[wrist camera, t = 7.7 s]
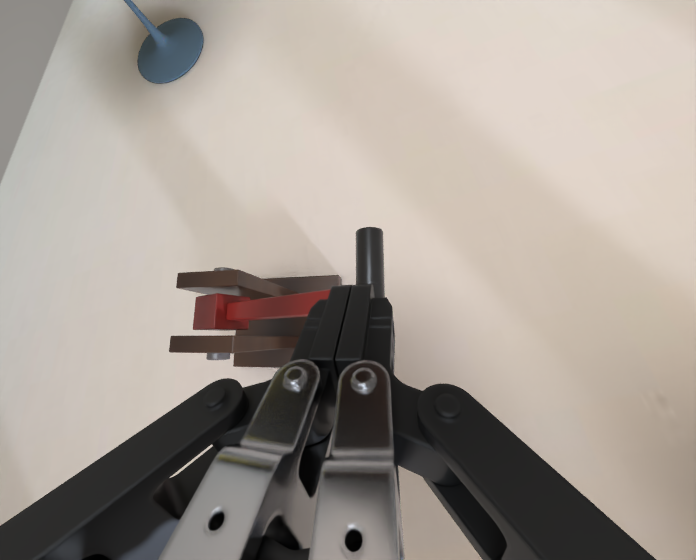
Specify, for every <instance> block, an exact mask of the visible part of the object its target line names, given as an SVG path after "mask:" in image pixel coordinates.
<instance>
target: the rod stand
mask: <svg viewBox="0 0 696 560" xmlns="http://www.w3.org/2000/svg"><path fill="white" fill-rule="evenodd" d="M340 285H341V277H340V276H339V275H332V276H310V277H289V278H268V279H261V278H259V277H256V276H253V275H251V274H248V273H246V272H243V271H241V270H234V269H231V268H215V269H214V271H206V272H187V273H178V277H177V286H176V288H179V289H184V290H188V291H193V292H198V293H203V294H208V295H210V294H216V293H220V294H228V295H236V296H245V297H250V300H254V299H262V298H269V297H277V296H284V295H292V294H299V293H307V292H314V291H321V290H329V289H331V287H332V286H340ZM305 321H307V317H294V318H278V319H262V320H249V328H248V330H236V336H171V340H170V348H169V352H178V353H207V360H226V359H230V353H234V365H233V366H235V367H282V366H283V365H285V364H287V363H288V362H290V359H291V357H292V354H293V352H294V349H295V347H296V344H297V342H298V339H299V336H300V334H301V331H302V329H303V326H304V324H305Z"/></svg>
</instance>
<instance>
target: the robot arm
mask: <svg viewBox="0 0 696 560" xmlns="http://www.w3.org/2000/svg"><path fill="white" fill-rule="evenodd" d="M394 349H395V333H394V322H393V310H392V305H391V304H390V302H389V301H388V299H387V297H386V298H375V296H374V288H373V285H372V284H367V285H353V286H352V285H340V286H332V287H331V290H330V293H329V296H328V299H319V300H318V301H317V302H316V303H315V304H314V305H313V306H312V307H311V308H310V311H309V313H308V316H307V321H305V324H304V326H303V329H302V331H301V334H300V336H299V339H298V342H297V344H296V347H295V349H294V352H293V354H292V357H291V359H290V362H288V363H287V364H285V365H283V366H282V367H281V368H280V369H279V370H278V371H277V372H276V373H275V375H274V376H273V378H272V379H271V380H268V381H266V382H263V383H259V384H255V385H251V386H247V387H244V388H242V386H241V385H240V383H239V382H238V381H236V380H234V379H229V378H227V379H221V380H218V381H215V382H213V383H211V384H209V385H208V386H206V387H205V388H203V389H202V390H200V391H199V392H197V393H196V394H194V395H193V396H191V397H190V398H188V399H187V400H186V401H184V402H183V403H181V404H180V405H178V406H177V407H175V408H174V409H172V410H171V411H169V412H168V413H166V414H165V415H163V416H162V417H160V418H159V419H157V420H156V421H155V422H153V423H152V424H150V425H149V426H147V427H146V428H144V429H143V430H141V431H140V432H138V433H137V434H135V435H134V436H132V437H131V438H129V439H128V440H126V441H125V442H124V443H122V444H121V445H119V446H118V447H116V448H115V449H113V450H112V451H110V452H109V453H107V454H106V455H104V456H103V457H101V458H100V459H98V460H97V461H95V462H94V463H92V464H91V465H90V466H88V467H87V468H85V469H84V470H82V471H81V472H79V473H78V474H76V475H75V476H73V477H72V478H70V479H69V480H67V481H66V482H64V483H63V484H61V485H60V486H59V487H57V488H56V489H54V490H53V491H51V492H50V493H48V494H47V495H45V496H44V497H42V498H41V499H39V500H38V501H36V502H35V503H33V504H32V505H30V506H29V507H28V508H26V509H25V510H23V511H22V512H20V513H19V514H17V515H16V516H14V517H13V518H11V519H10V520H8V521H7V522H5V523H4V524H2V525H1V526H0V560H405V554H404V540H403V526H402V515H401V501H400V486H399V470H398V465H399V466H401V467H403V468H405V469H407V470H409V471H411V472H414V473H416V474H418V475H420V476H422V477H423V478H424V480H425V481H426V483H427V484H428V486H429V487H430V488H431V490H432V491H433V492H434V494H435V495H436V496H437V498H438V499H439V501H440V502H441V503H442V505H443V506H444V507H445V509H446V510H447V511H448V513H449V514H450V516H451V517H452V518H453V520H454V521H455V522H456V524H457V525H458V526H459V528H460V529H461V531H462V532H463V533H464V535H465V536H466V537H467V539H468V540H469V542H470V543H471V544H472V546H473V547H474V548H475V550H476V551H477V552H478V554H479V555H480V557H481V558H482V559H483V560H656V559H655V558H654V557H653V556H651V555H650V554H649V553H648V552H647V551H646V550H645V549H644V548H642V547H641V546H640V545H639V544H638V543H637V542H636V541H635V540H633V539H632V538H631V537H630V536H629V535H628V534H627V533H625V532H624V531H623V530H622V529H621V528H620V527H619V526H618V525H616V524H615V523H614V522H613V521H612V520H611V519H610V518H609V517H607V516H606V515H605V514H604V513H603V512H602V511H601V510H600V509H598V508H597V507H596V506H595V505H594V504H593V503H592V502H590V501H589V500H588V499H587V498H586V497H585V496H584V495H583V494H581V493H580V492H579V491H578V490H577V489H576V488H575V487H574V486H572V485H571V484H570V483H569V482H568V481H567V480H566V479H565V478H563V477H562V476H561V475H560V474H559V473H558V472H557V471H555V470H554V469H553V468H552V467H551V466H550V465H549V464H548V463H546V462H545V461H544V460H543V459H542V458H541V457H540V456H539V455H537V454H536V453H535V452H534V451H533V450H532V449H531V448H530V447H528V446H527V445H526V444H525V443H524V442H523V441H522V440H521V439H519V438H518V437H517V436H516V435H515V434H514V433H513V432H511V431H510V430H509V429H508V428H507V427H506V426H505V425H504V424H502V423H501V422H500V421H499V420H498V419H497V418H496V417H495V416H493V415H492V414H491V413H490V412H489V411H488V410H487V409H486V408H484V407H483V406H482V405H481V404H480V403H479V402H478V401H476V400H475V399H474V398H473V397H472V396H471V395H470V394H469V393H467V392H466V391H465V390H463V389H461V388H459V387H457V386H454V385H451V384H435V385H432V386H430V387H428V388H426V389H425V390H424V391H421V390H418V389H415V388H412V387H410V386H407V385H405V384H403V383H402V382H401V381H399V380H398V379H397V378H396V377H395V375H394V353H395V350H394ZM211 444H212V445H213V447H211V448H210V449H209V450H208V451H206V452H205V453H204V454H203V455H201V456H200V457H199V458H198V459H196V460H195V461H194V462H193V463H191V464H190V465H189V466H188V467H186V468H185V469H184V470H182V471H181V472H180V473H179V474H177V475H176V476H174V477H171V478H169V477H170V476H172V475H173V474H174V473H176V472H177V471H178V470H179V469H181V468H182V467H183V466H184V465H186V464H187V463H188V462H189V461H191V460H192V459H193V458H195V457H196V456H197V455H198V454H200V453H201V452H202V451H203V450H205V449H206V448H207V447H208V446H210V445H211Z"/></svg>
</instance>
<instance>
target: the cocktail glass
mask: <svg viewBox="0 0 696 560" xmlns="http://www.w3.org/2000/svg"><path fill="white" fill-rule="evenodd" d="M124 1H125V2H126V3H127V5H128V6H129V7H130V8H131V9H132V11H133V12H134V13H135V14H136V16H137V17H138V18H139V19H140V20H141V22H142V23H143V24H144V26H145V27H146V28H147V30H148V31H149V33H150V34H149V35H148V37H147V38H146V39H145V41H144V42H143V44H142V46H141V48H140V51H139V55H138V68H139V71H140V73H141V75H142V76H143V77H144V78H145V79H147V80H148V81H150V82H153V83H166V82H170V81H173V80H175V79H177V78H179V77H180V76H182V75H183V74H185V73H186V72H187V71H188V70H189V69H190V68H191V67H192V66H193V65H194V63H195V62H196V60H197V59H198V57H199V55H200V53H201V50H202V45H203V35H202V31H201V29H200V27H199V26H198V25H197V23H195V22H194V21H192V20H190V19H187V18H176V19H172V20H169V21H167V22H165V23H163V24H161V25H159V26H158V27H157V28H156V27H155V26H154V25H153V24H152V23H151V22H150V21H149V20H148V19H147V18H146V17H145V15H144V14H143V13H142V12H141V11H140V10H139V9H138V8H137V6H136V5H135V4H134V3H133V2H132V1H131V0H124Z"/></svg>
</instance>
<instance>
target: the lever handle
mask: <svg viewBox="0 0 696 560" xmlns="http://www.w3.org/2000/svg"><path fill="white" fill-rule="evenodd" d="M367 284H372V285H373V288H374V296H375V298H385V291H384V252H383V231H382V230H381V229H379V228H375V227H366V228H361V229H359V230H357V231H356V285H367ZM330 290H331V289H329V290H321V291H314V292H307V293H299V294H292V295H284V296H277V297H269V298H262V299H254V300H250V297H245V296H236V295H228V294H220V293H216V294H210V295H205V296H199V297H196V302H195V312H194V323H193V330H248V328H249V320H262V319H278V318H294V317H307V316H308V313H309V311H310V308H311V307H312V306H313V305H314V304H315V303H316V302H317V301H318V300H319V299H328V296H329V293H330Z"/></svg>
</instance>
